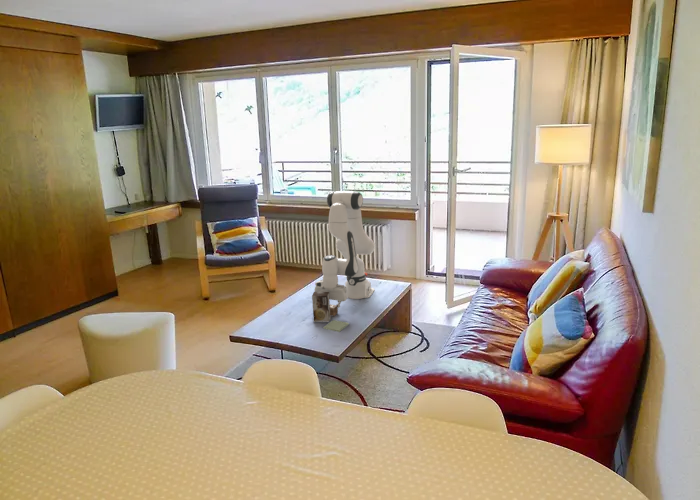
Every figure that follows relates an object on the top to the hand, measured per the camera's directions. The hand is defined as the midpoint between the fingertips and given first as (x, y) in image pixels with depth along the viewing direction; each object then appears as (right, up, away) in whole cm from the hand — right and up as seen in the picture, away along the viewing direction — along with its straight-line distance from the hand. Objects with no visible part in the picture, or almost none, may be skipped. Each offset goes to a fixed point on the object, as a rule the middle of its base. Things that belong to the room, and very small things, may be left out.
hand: (331, 306), depth 292 cm
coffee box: (-5, -8, -6) cm, 11 cm away
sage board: (+3, -10, -16) cm, 19 cm away
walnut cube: (0, -5, +2) cm, 5 cm away
